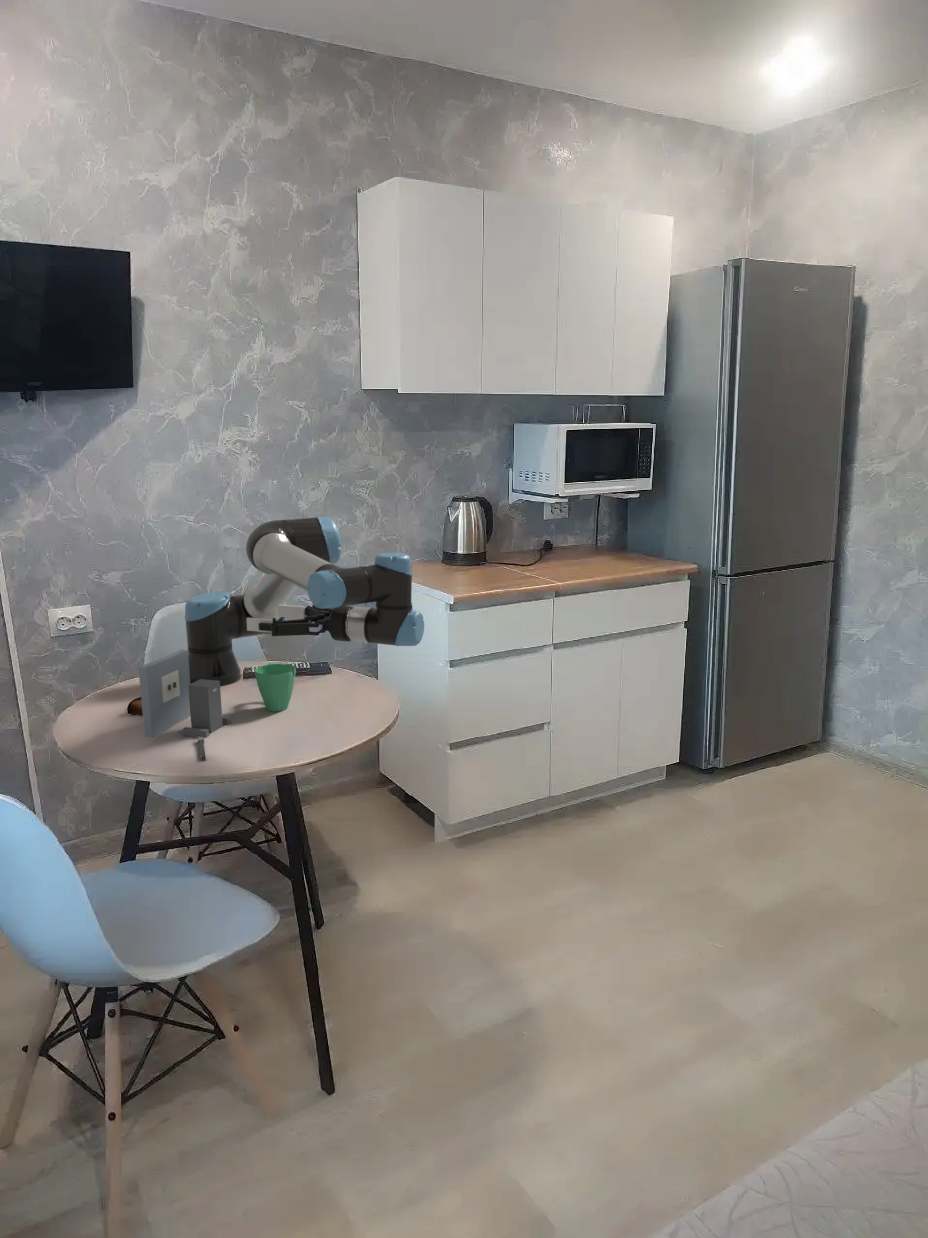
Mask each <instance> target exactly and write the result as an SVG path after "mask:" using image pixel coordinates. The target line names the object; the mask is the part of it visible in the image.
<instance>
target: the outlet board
mask: <svg viewBox="0 0 928 1238" xmlns="http://www.w3.org/2000/svg"><path fill="white" fill-rule="evenodd" d="M138 675H139V676H138V677H139V688H140V697H141V701H142V712H143V716H142V721H143V722H142V723H143V735H144V737H149V738H150V737H151V738H152V737H155V736H156V735H158V734H160V733H162V732H163V731H166V730H167V729H169V728H171V727H173V726H174V725H177V724H178V723H180V722H182V721H184V720H186V719H188V718H189V717H190V718H191V716H190V703H189V694H188V693H189V689H188V685H190V672H189V659H188V649H187V650H186V649H179V650H177V651H174V652H172V653H170V654H166V655H164V656H163V657H160V658H158V659H155V660H153V661H151V662H148V663H146V664H143V665H141V666H138ZM231 721H232V719H231V716H226V715H222V722H223V725H230V724H231ZM181 733H182V735H183V736H189V737H197V738H198V737H204V738H208V737H209V736H210V733H209V729H199V728H191V727H186V726H185V727H183V728H182V731H181Z"/></svg>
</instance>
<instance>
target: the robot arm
mask: <svg viewBox="0 0 928 1238" xmlns="http://www.w3.org/2000/svg"><path fill="white" fill-rule="evenodd" d="M245 545H246V546H245V549H246V550H245V552H246V556H247V560H248V561H249V562H250V564H251V565H252V566H253V567H254V568H255V569H256V570H258V571H260V572H262V573H264V576H263V577H262V579H261V580H260V581H259V583H256V584H253V585H251V586H249V587H248V589H247V590H246V591H245V593H244V594H240V595H239V594H238V595H231V596H230V595H229V593H228V592H225V591H215V592H212V591H211V592H206V593H201V594H198V595H195V596H193V597H191V598H190V599H188V600H187V601H186V603H185V607H184V608H185V609H184V611H185V612H184V620H185V629H186V641H187V642H186V643H187V650H188V659H189V672H190V684H192V683H194V682H196V681H198V680H200V679H204V680H216V681H220V687H221V686H225V685H229V684H232V683H233V684H234V683H235V682H237V681H240V679H241V677H242V674H241V668H240V666H239V663H238V660H237V658H236V656H235V653H234V650H233V640H234V639H236V640H237V639H241V638H248V637H254V636H262V635H271V636H272V637H286V636H287V637H289V636H319V635H320V634H323V633H324V634H325V633H326V632H328V633H329V634H330V637H331V638H332V640H333V641H336V642H337V641H339V642H355V643H362V645H363V646H366V645H368V644H377V645H385V646H386V645H387V646H396V647H416V646H418V645H419V644H420V643H421V641H422V640H423V637H424V634H425V633H424V632H425V621H424V615H423V614H422V613H421V612H420V611H416V610H415V609H413V603H412V589H413V588H412V587H413V586H412V583H413V570H412V559H411V556H409V554H406V553H403V552H382V553H378V554H376V555H375V557H374V558H375V559H374V564H371V565H363V566H355V567H346V568H344V567H340V566H339V565H336V563H338V562H339V561H340V558H341V556H342V555H341V554H342V541H341V536H340V531H339V529H338V526H337V524H336V523H335V521H334V520H332V518H330V517H327V516H315V517H307V518H305V517H304V518H293V519H289V518H288V519H280V520H279V519H278V520H277V519H276V520H269V521H266V522H263V523H262V524H259V525H258V526H257V527H255V528H254V529H253V531H252V532H251V533H250V534H249V536H248V538H247V542H246V544H245ZM298 588H300V589H301V590H304V591H306V592H307V595H308V598H309V600H310V602H311V604H312V605H307V606H304V605H292V604H291V605H290V604H287V601H288V600H289V598H291V596H292V594H294V593H295V591H296V590H297V589H298ZM368 603H375V606H376V608H375V607H365V606H355V605H361V604H368ZM353 606H354V607H353ZM288 618H289V619H288Z"/></svg>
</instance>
